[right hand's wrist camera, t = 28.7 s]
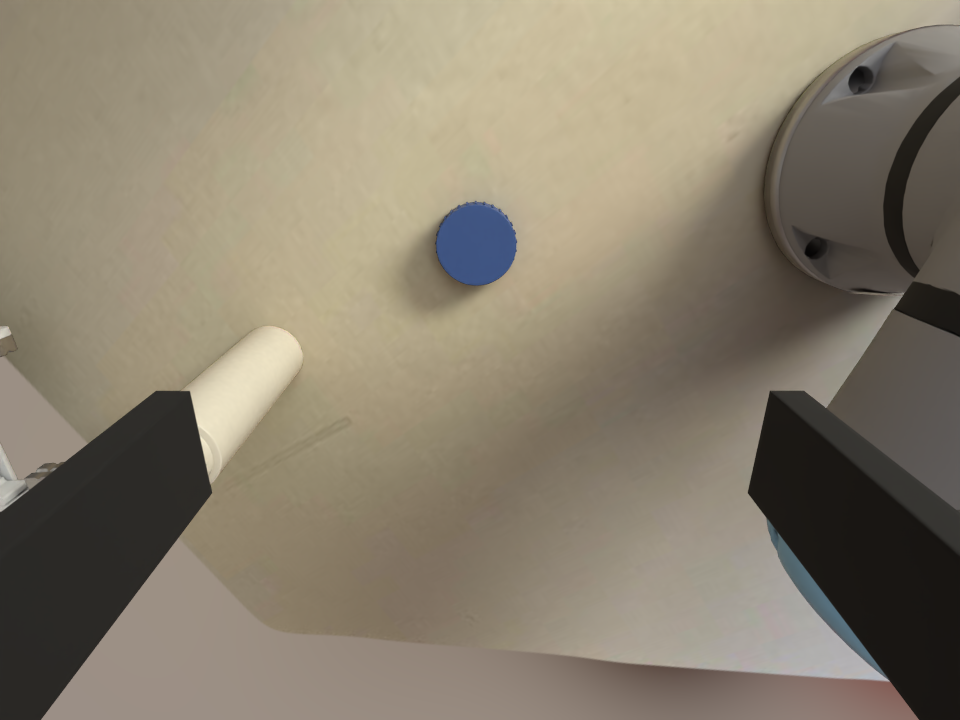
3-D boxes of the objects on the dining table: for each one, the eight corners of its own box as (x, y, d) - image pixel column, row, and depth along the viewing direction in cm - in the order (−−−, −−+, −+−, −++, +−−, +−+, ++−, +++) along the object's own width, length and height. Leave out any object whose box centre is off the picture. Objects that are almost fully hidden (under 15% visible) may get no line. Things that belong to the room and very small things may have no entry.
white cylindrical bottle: (292, 320, 39) (185, 424, 25) (311, 376, 40) (220, 504, 26) (232, 331, 39) (93, 440, 25) (253, 386, 41) (134, 518, 27)
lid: (445, 286, 38) (444, 293, 36) (429, 208, 36) (427, 212, 34) (521, 273, 37) (523, 279, 36) (508, 193, 35) (510, 196, 34)
